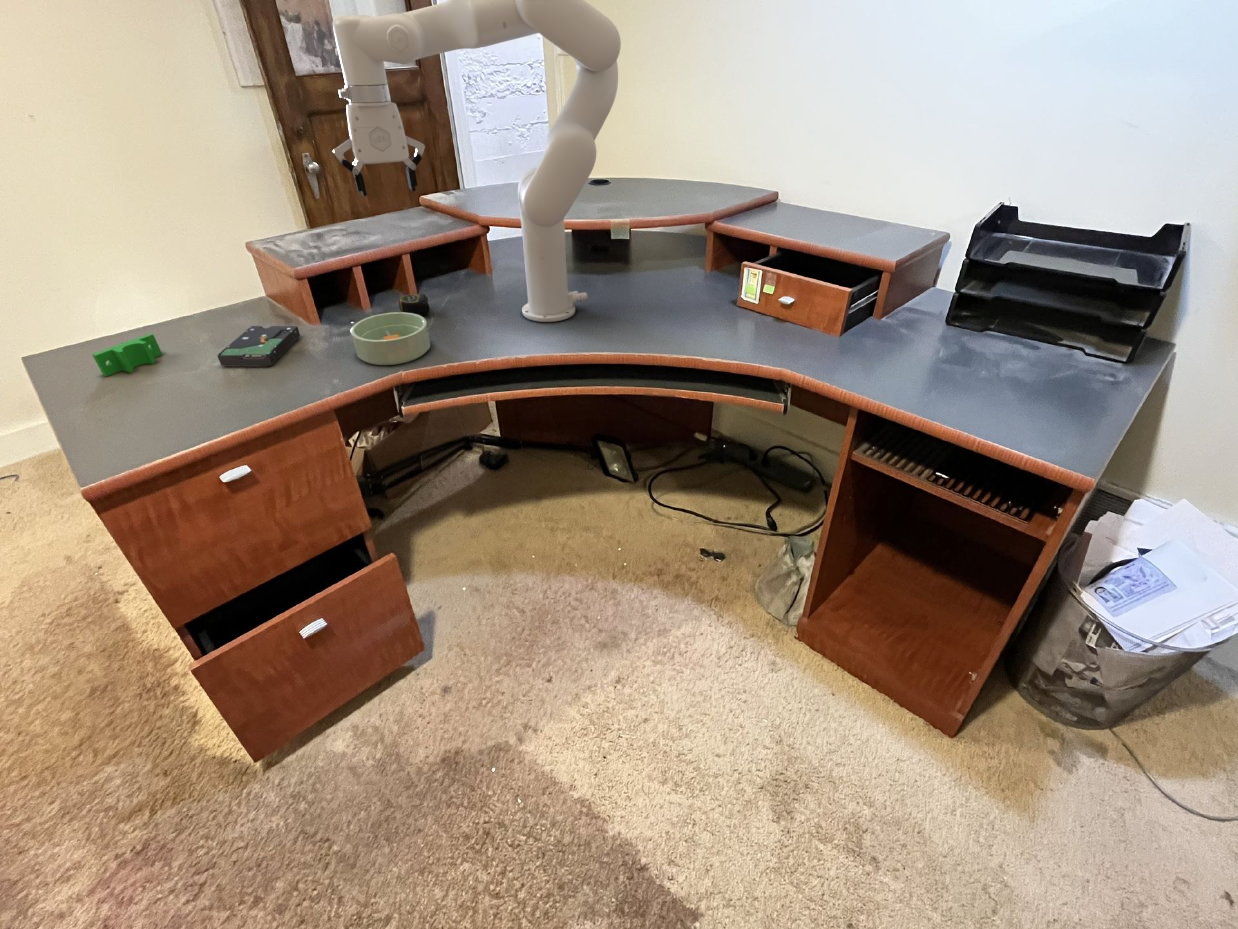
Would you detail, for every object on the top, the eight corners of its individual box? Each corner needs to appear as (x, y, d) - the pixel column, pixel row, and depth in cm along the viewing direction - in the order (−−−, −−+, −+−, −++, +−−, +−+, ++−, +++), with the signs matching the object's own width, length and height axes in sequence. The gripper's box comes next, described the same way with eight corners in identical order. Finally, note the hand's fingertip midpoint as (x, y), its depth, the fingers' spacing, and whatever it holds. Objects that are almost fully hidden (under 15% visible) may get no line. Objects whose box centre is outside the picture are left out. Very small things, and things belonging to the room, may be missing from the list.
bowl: (422, 331, 139) (417, 307, 136) (438, 357, 128) (433, 332, 125) (352, 343, 134) (346, 319, 131) (362, 372, 123) (356, 347, 120)
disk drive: (254, 337, 137) (220, 367, 125) (250, 325, 135) (215, 354, 123) (301, 337, 137) (272, 366, 125) (298, 325, 135) (268, 354, 123)
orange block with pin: (405, 357, 127) (402, 343, 125) (390, 360, 126) (387, 345, 124) (395, 336, 135) (392, 322, 134) (381, 339, 134) (377, 325, 133)
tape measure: (431, 317, 146) (428, 301, 144) (401, 320, 144) (397, 304, 142) (429, 306, 151) (426, 291, 149) (400, 309, 150) (396, 294, 147)
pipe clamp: (114, 379, 121) (103, 358, 118) (103, 375, 122) (91, 354, 119) (170, 356, 129) (160, 336, 126) (159, 353, 130) (149, 332, 127)
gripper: (322, 99, 111) (346, 200, 121) (419, 95, 117) (435, 191, 127) (318, 95, 116) (341, 193, 126) (411, 92, 123) (427, 184, 133)
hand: (388, 192), depth 127 cm, fingers open, 9 cm apart
